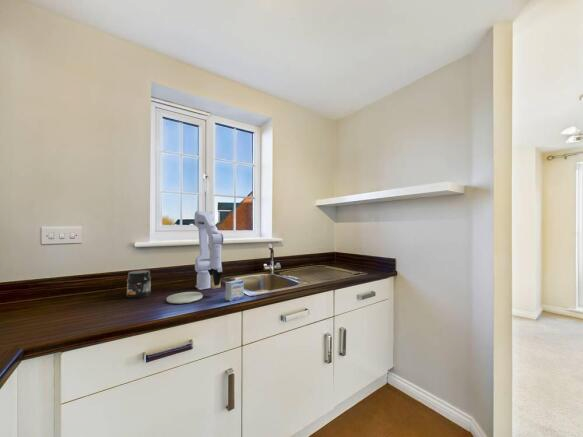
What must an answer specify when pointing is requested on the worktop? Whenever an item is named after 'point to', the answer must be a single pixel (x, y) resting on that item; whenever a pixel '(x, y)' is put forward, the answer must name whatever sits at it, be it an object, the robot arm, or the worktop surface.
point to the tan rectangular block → (213, 283)
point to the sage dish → (184, 297)
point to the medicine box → (234, 290)
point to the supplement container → (138, 284)
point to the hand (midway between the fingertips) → (215, 284)
